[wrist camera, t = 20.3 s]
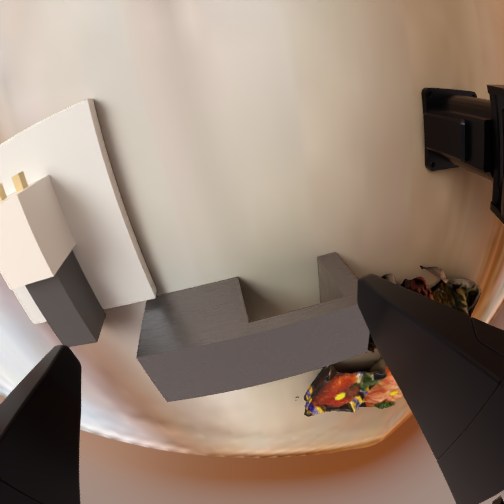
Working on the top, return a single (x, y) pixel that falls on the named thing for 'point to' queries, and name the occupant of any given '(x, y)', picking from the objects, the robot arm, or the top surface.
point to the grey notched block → (247, 336)
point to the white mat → (81, 203)
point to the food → (379, 377)
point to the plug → (46, 261)
